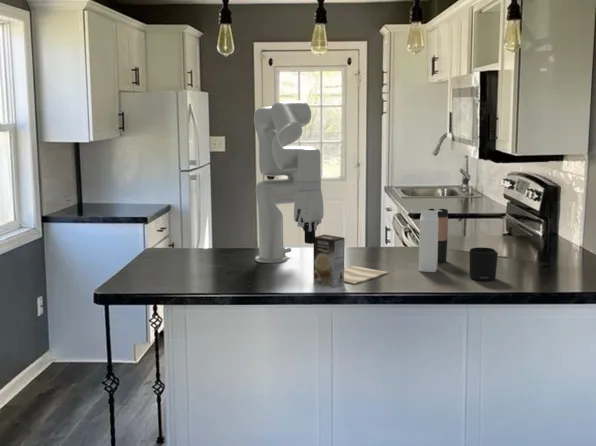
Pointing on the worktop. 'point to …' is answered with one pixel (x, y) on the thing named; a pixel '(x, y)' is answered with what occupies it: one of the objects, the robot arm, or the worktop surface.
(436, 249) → the milk
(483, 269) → the pen holder
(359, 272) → the tan wooden board
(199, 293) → the worktop surface
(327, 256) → the coffee box
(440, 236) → the travel mug
